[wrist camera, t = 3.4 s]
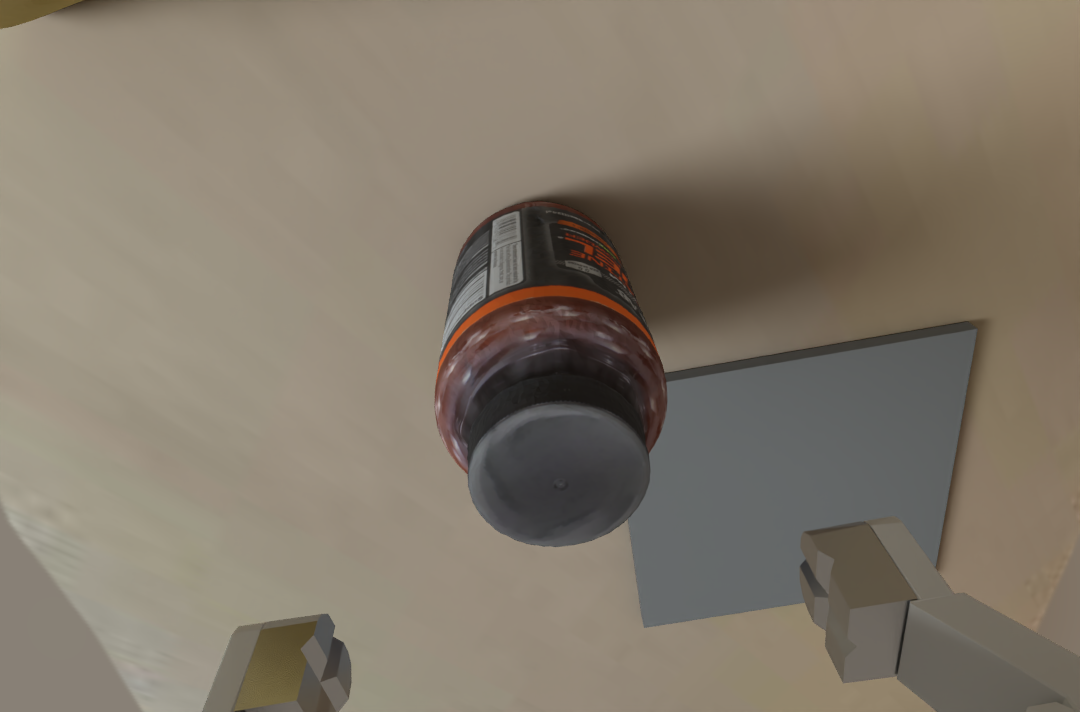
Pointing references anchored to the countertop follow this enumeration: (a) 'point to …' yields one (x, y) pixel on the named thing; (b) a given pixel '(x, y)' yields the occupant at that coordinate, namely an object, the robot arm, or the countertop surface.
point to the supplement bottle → (548, 377)
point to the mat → (794, 465)
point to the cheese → (28, 10)
